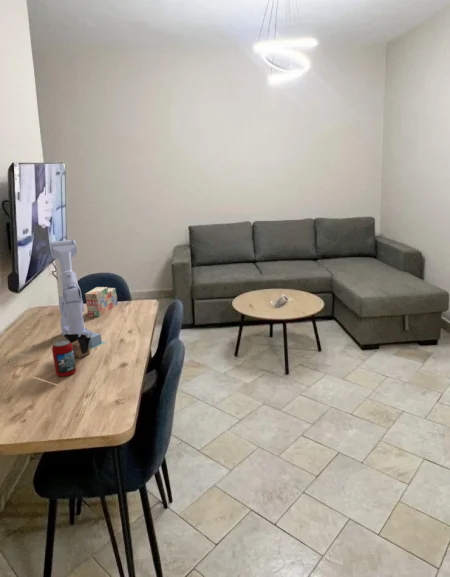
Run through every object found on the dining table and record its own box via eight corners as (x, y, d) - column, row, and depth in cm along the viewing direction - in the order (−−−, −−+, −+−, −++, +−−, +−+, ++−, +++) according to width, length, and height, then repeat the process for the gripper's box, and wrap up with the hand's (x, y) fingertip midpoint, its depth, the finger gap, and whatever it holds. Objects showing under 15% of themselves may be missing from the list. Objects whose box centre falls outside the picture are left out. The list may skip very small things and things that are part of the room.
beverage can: (64, 379, 150) (59, 347, 147) (52, 375, 154) (47, 344, 150) (80, 372, 155) (75, 340, 152) (68, 368, 159) (63, 337, 156)
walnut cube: (71, 355, 168) (69, 343, 167) (81, 350, 172) (79, 339, 171) (79, 358, 166) (77, 345, 164) (90, 353, 170) (88, 341, 168)
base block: (76, 343, 182) (74, 334, 180) (85, 339, 186) (84, 330, 184) (92, 347, 176) (91, 338, 175) (101, 343, 180) (100, 334, 179)
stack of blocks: (107, 304, 238) (104, 282, 234) (117, 304, 236) (115, 282, 233) (88, 317, 217) (84, 293, 214) (99, 317, 216) (96, 293, 213)
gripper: (54, 319, 166) (59, 351, 169) (79, 324, 158) (84, 358, 162) (69, 313, 171) (74, 345, 175) (94, 318, 164) (99, 352, 167)
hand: (80, 351), depth 169 cm, fingers closed on walnut cube, 5 cm apart
